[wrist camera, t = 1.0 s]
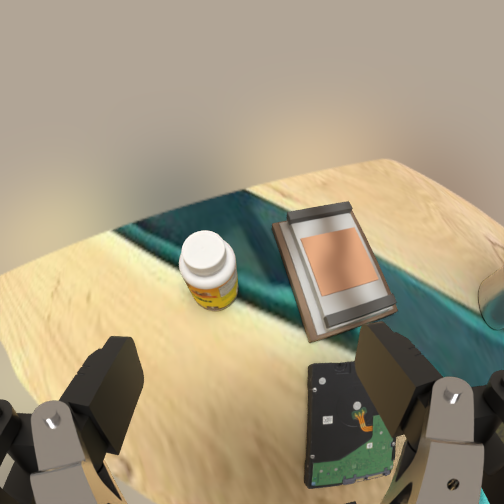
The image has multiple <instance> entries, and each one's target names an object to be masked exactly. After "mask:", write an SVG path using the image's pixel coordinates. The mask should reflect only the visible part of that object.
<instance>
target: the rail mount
mask: <svg viewBox="0 0 504 504" xmlns="http://www.w3.org/2000/svg"><path fill="white" fill-rule="evenodd" d="M272 231H273V234H274V237H275V239H276V242H277V245H278V248H279V251H280V254H281V257H282V260H283V263H284V266H285V269H286V272H287V275H288V278H289V281H290V284H291V287H292V290H293V293H294V297H295V300H296V303H297V306H298V309H299V312H300V315H301V318H302V321H303V325H304V328H305V331H306V334H307V337H308V341H309V343H311V342H315V341H318V340H321V339H324V338H328V337H331V336H334V335H337V334H340V333H343V332H346V331H349V330H352V329H354V328H357V327H360V326H362V325H363V324H368V323H371V322H374V321H376V320H379V319H382V318H384V317H387V316H389V315H392V314H394V313H396V312H397V311H398V309H397V307H396V303H397V302H396V300H395V297H394V295H393V293H392V294H391V292H390V289H389V287H388V285H387V282H386V280H385V278H384V275H383V273H382V271H381V269H380V266H379V264H378V262H377V260H376V258H375V256H374V253H373V251H372V249H371V247H370V245H369V243H368V241H367V239H366V237H365V235H364V233H363V231H362V229H361V227H360V225H359V223H358V221H357V219H356V217H355V215H354V213H353V211H352V206H351V204H350V203H349V201H348V202H342V203H336V204H330V205H324V206H318V207H313V208H307V209H302V210H296V211H291V212H287V221H283V222H278V223H273V224H272Z"/></svg>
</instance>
